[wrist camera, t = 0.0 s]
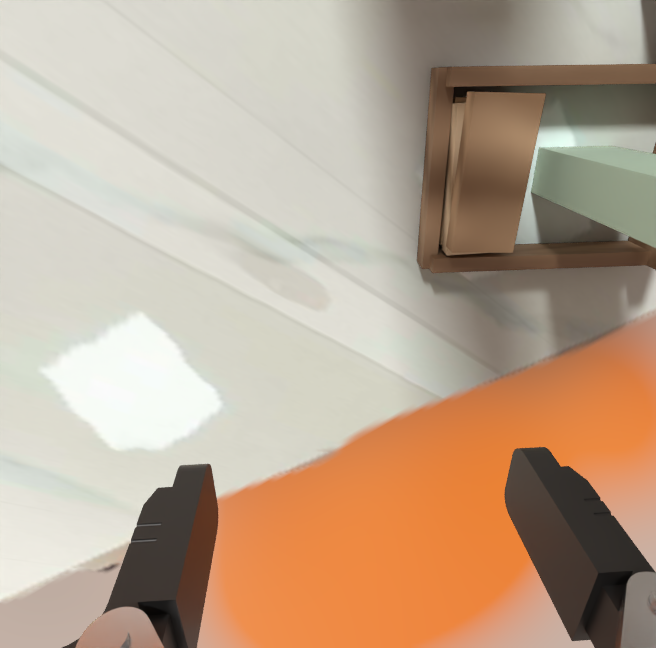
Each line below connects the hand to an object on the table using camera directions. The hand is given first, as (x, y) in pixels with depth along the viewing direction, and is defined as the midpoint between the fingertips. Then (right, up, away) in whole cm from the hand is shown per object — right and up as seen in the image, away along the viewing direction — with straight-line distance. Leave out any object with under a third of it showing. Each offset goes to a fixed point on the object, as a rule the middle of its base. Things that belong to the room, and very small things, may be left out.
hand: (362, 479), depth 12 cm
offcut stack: (+11, +16, +25) cm, 32 cm away
